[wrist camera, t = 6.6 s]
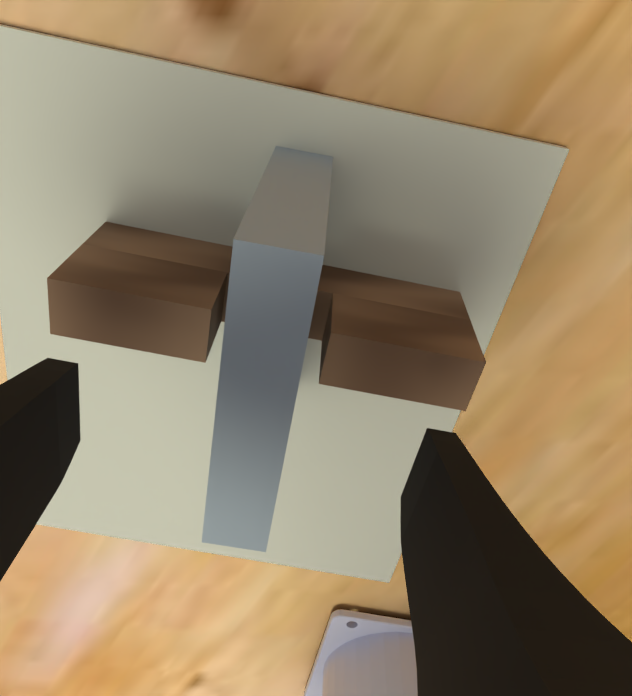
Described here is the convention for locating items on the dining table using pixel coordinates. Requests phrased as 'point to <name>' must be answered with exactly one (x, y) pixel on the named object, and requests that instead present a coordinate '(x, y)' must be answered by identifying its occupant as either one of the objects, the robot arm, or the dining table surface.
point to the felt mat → (220, 227)
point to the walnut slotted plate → (210, 309)
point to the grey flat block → (265, 344)
